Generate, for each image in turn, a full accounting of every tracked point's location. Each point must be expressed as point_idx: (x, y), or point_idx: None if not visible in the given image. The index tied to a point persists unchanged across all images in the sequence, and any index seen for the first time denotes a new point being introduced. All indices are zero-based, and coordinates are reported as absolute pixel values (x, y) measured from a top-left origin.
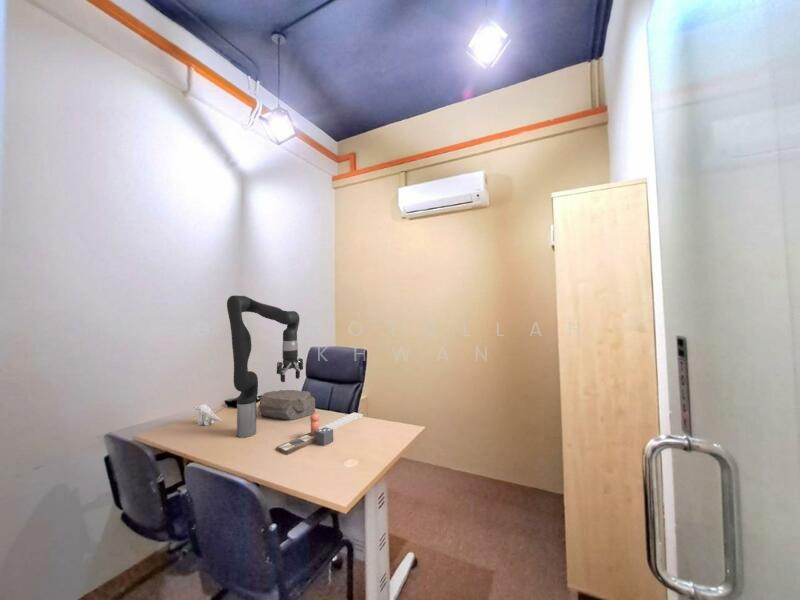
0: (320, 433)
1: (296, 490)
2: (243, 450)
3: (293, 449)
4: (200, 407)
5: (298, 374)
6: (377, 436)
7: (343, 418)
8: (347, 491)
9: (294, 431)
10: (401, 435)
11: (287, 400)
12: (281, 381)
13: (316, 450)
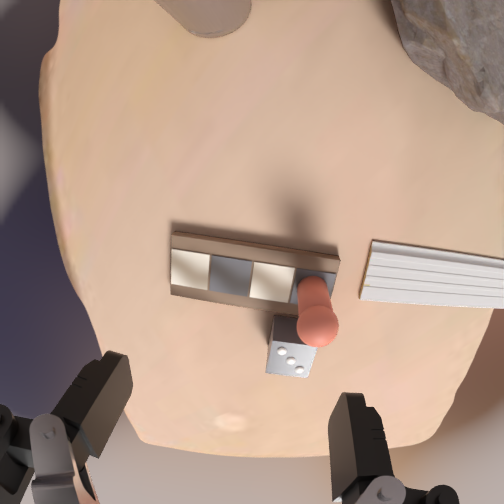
0: (268, 358)
1: None
2: (120, 130)
3: (191, 297)
4: None
5: (336, 469)
6: None
7: (475, 274)
8: (162, 438)
9: (327, 164)
10: None
11: (443, 25)
12: (109, 351)
13: (236, 343)
